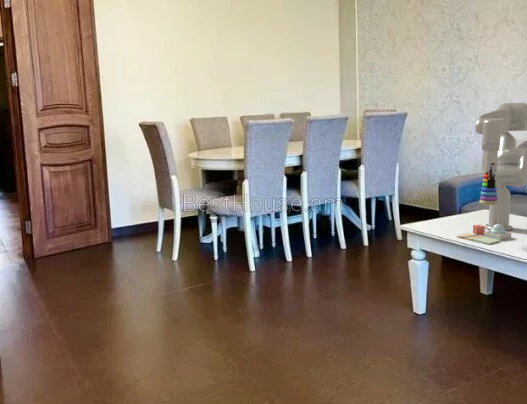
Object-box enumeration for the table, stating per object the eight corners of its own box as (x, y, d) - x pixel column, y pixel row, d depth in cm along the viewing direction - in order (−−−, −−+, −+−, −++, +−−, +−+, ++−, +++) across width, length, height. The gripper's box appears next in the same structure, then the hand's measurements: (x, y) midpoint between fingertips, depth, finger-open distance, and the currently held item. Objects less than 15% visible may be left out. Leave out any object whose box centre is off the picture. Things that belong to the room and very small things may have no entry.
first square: (456, 237, 260) (456, 235, 260) (468, 234, 265) (468, 233, 265) (471, 240, 253) (472, 239, 253) (483, 238, 258) (483, 236, 258)
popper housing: (483, 237, 259) (484, 231, 259) (494, 234, 264) (495, 229, 263) (499, 240, 252) (500, 235, 252) (511, 237, 257) (511, 232, 256)
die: (472, 232, 268) (473, 224, 267) (480, 232, 268) (481, 223, 267) (476, 234, 264) (477, 226, 263) (484, 234, 264) (485, 225, 263)
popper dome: (488, 234, 259) (488, 223, 258) (495, 232, 262) (496, 222, 261) (499, 237, 254) (499, 226, 253) (507, 235, 257) (507, 224, 256)
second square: (472, 241, 253) (472, 239, 253) (484, 238, 257) (484, 236, 257) (488, 244, 246) (488, 243, 246) (500, 241, 250) (500, 240, 250)
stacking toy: (475, 203, 250) (476, 163, 247) (487, 201, 254) (488, 161, 251) (490, 206, 243) (491, 164, 240) (501, 204, 247) (503, 163, 244)
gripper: (478, 145, 253) (476, 184, 256) (486, 149, 236) (484, 190, 239) (495, 145, 251) (493, 183, 255) (504, 148, 235) (502, 190, 238)
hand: (489, 186), depth 247 cm, fingers closed on stacking toy, 5 cm apart
